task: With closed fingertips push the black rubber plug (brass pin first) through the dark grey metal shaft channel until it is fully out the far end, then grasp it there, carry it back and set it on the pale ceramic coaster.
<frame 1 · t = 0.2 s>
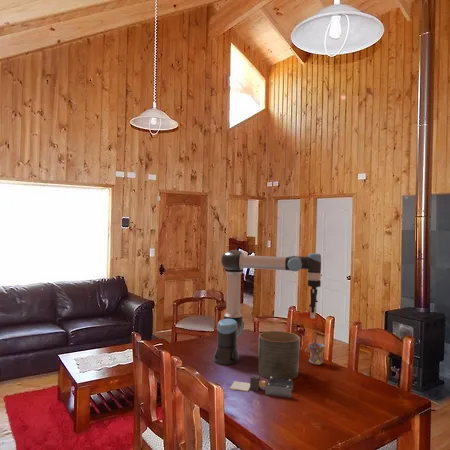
hand: (313, 315, 233), 28 cm above the table, fingers open, 13 cm apart
coaster: (241, 386, 195), on the table
planter: (278, 373, 215), on the table
shaft channel: (279, 392, 189), on the table
plug: (254, 388, 193), on the table
mug: (314, 363, 232), on the table
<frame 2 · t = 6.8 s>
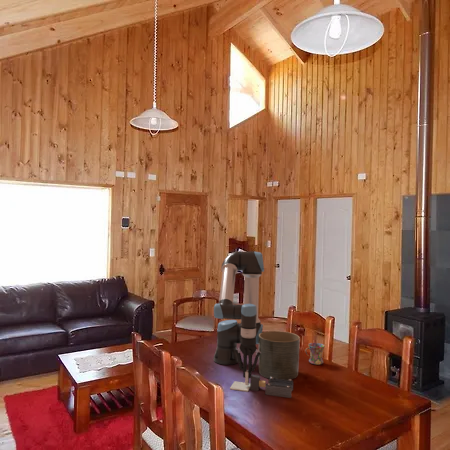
hand: (247, 384, 194), 2 cm above the table, fingers closed
plug: (254, 388, 193), on the table, touching gripper
everything else where it was.
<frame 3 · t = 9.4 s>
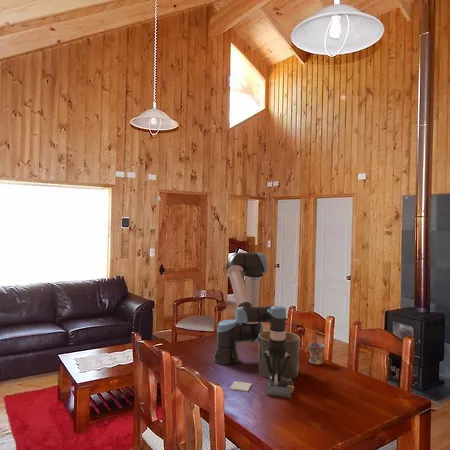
hand: (276, 387, 189), 2 cm above the table, fingers closed
plug: (281, 391, 189), point 1 cm above the table, tilted 18°, touching gripper
everything else where it was.
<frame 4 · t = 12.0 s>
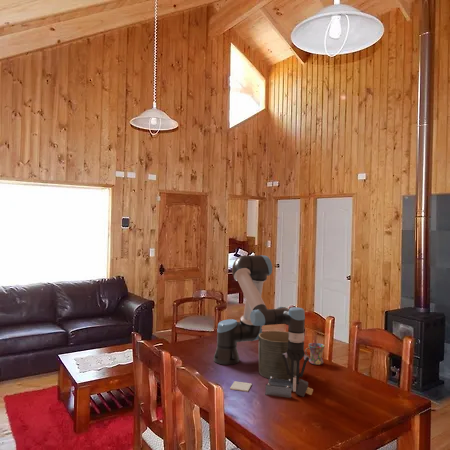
hand: (294, 390, 187), 2 cm above the table, fingers closed
plug: (299, 393, 187), point 1 cm above the table, tilted 18°, touching gripper
everything else where it was.
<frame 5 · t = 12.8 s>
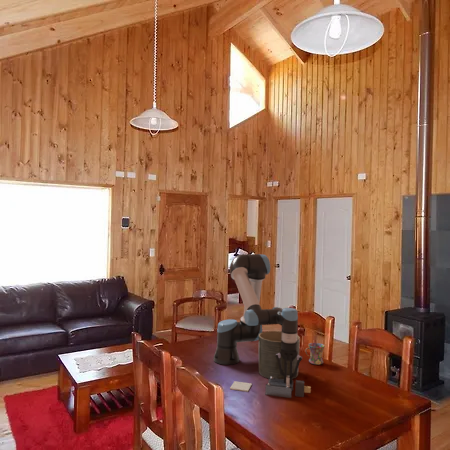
hand: (287, 390, 189), 1 cm above the table, fingers closed
plug: (299, 394, 187), on the table
everything else where it was.
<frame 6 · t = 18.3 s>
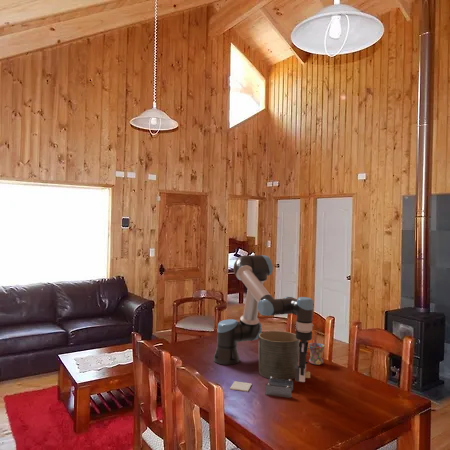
hand: (302, 379, 187), 7 cm above the table, fingers closed on plug, 4 cm apart
plug: (299, 380, 187), point 7 cm above the table, touching gripper
everything else where it was.
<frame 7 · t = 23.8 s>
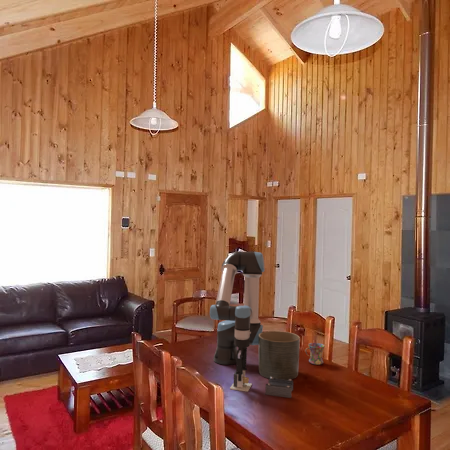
hand: (241, 385, 194), 1 cm above the table, fingers closed on plug, 4 cm apart
plug: (238, 385, 195), point 1 cm above the table, touching coaster, gripper
everything else where it was.
when the fingers open (1 cm above the table, at t = 23.8 s): plug stays where it is, resting on coaster.
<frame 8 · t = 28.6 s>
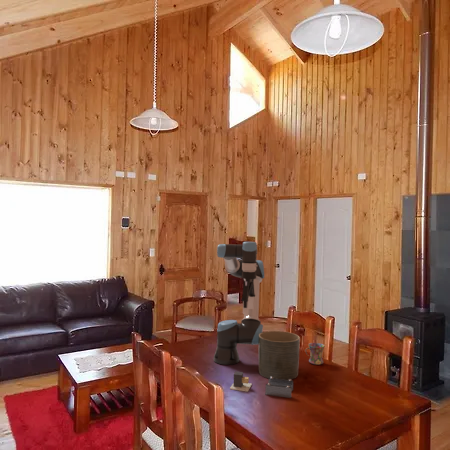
hand: (248, 311, 207), 35 cm above the table, fingers open, 13 cm apart
plug: (238, 385, 195), point 1 cm above the table, touching coaster
everything else where it was.
at the end: plug inside the target area on the coaster (1.4 cm from its centre), point 0.6 cm above the coaster's base; plug tilted 0°; the gripper is holding nothing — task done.
